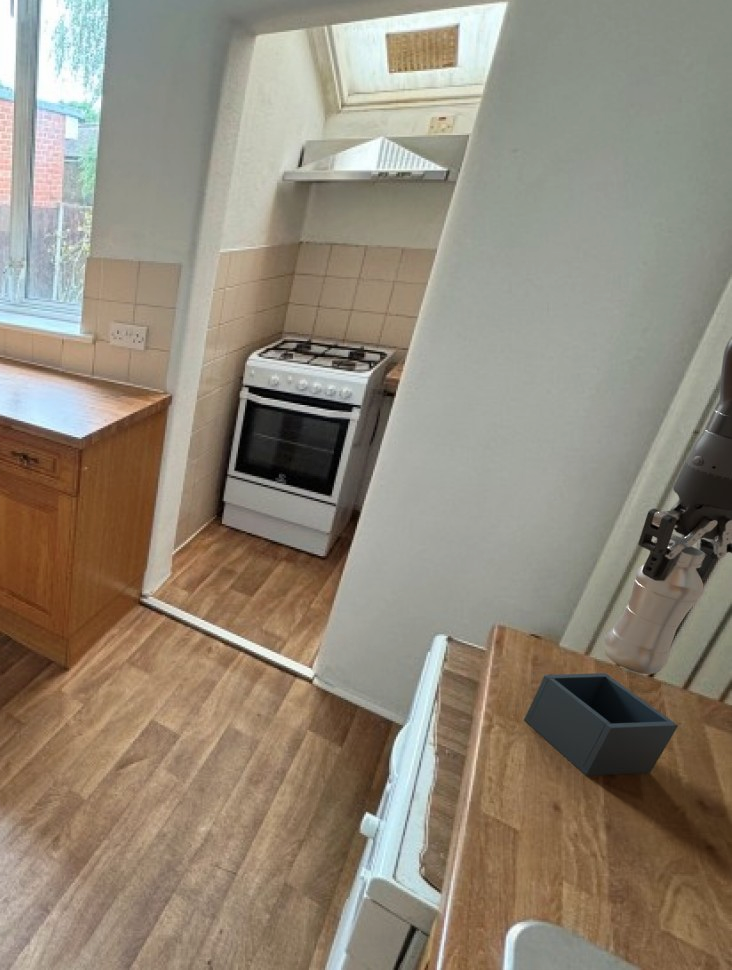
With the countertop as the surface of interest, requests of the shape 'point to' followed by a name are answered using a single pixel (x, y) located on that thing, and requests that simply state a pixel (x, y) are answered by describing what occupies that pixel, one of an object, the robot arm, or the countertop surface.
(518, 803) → the countertop surface
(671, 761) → the countertop surface
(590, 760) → the bin
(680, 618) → the plastic bottle
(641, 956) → the countertop surface
